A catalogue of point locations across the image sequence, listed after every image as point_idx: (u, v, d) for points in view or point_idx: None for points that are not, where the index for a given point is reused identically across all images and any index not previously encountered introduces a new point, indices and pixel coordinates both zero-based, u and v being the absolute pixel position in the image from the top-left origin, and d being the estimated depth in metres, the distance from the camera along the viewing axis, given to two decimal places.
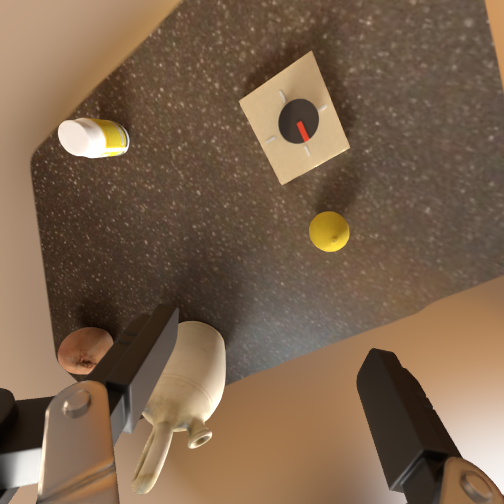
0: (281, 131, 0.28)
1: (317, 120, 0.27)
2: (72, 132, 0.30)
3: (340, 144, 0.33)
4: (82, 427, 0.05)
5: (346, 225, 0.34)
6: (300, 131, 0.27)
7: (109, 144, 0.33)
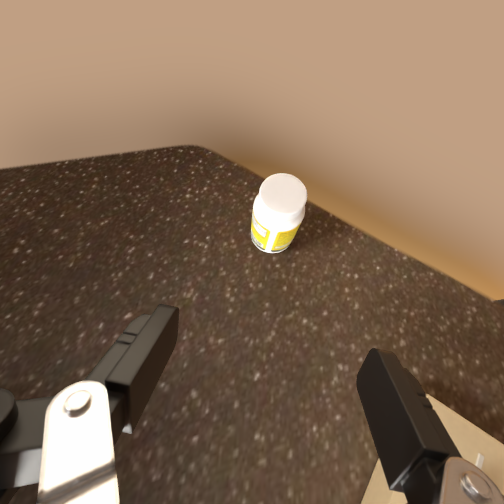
0: None
1: None
2: (291, 190, 0.20)
3: None
4: (82, 427, 0.05)
5: None
6: None
7: (282, 235, 0.23)
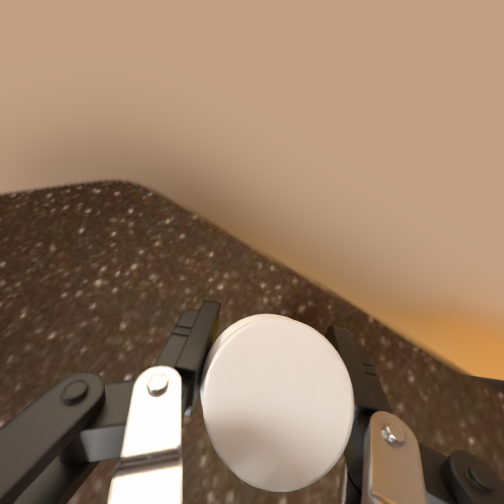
0: None
1: None
2: (304, 386, 0.06)
3: None
4: (158, 408, 0.06)
5: None
6: None
7: None
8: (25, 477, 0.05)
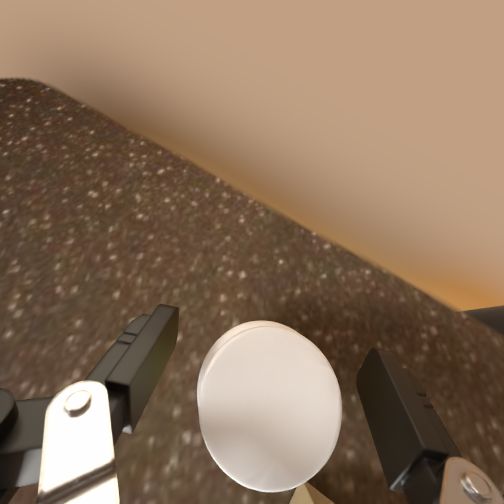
0: None
1: None
2: (295, 392, 0.07)
3: None
4: (82, 427, 0.05)
5: None
6: None
7: None
8: None
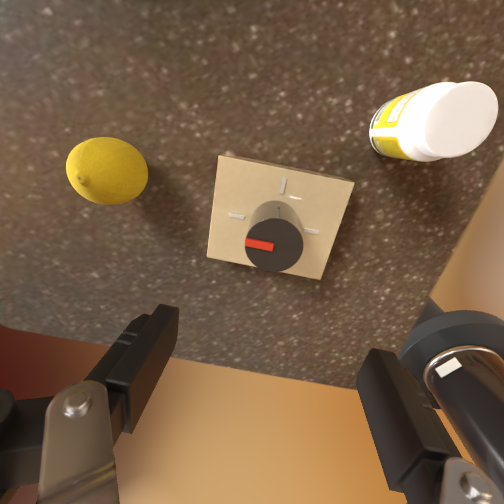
0: (281, 221, 0.18)
1: (257, 265, 0.19)
2: (465, 131, 0.15)
3: (216, 251, 0.25)
4: (82, 427, 0.05)
5: None
6: (262, 240, 0.18)
7: (394, 144, 0.18)
8: None
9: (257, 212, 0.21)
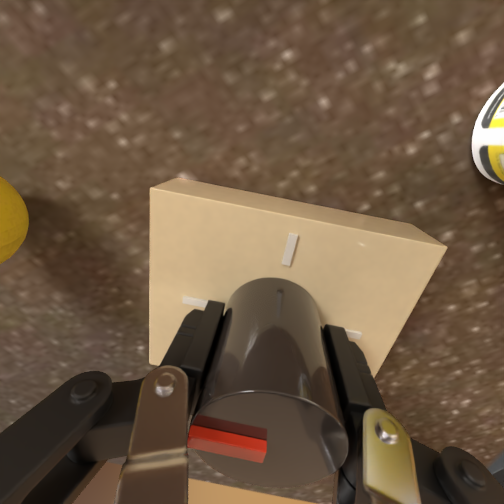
0: (287, 400, 0.06)
1: (226, 473, 0.08)
2: None
3: None
4: (165, 407, 0.06)
5: None
6: (234, 433, 0.07)
7: None
8: (34, 475, 0.05)
9: (232, 316, 0.09)
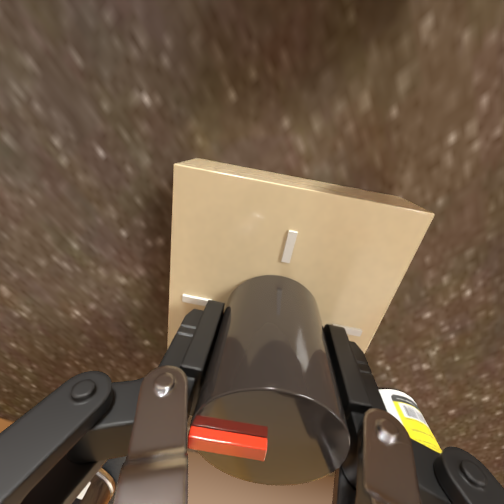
0: (283, 396, 0.06)
1: (230, 473, 0.08)
2: None
3: (194, 192, 0.10)
4: (165, 407, 0.06)
5: None
6: (235, 432, 0.07)
7: None
8: (33, 475, 0.05)
9: (230, 316, 0.09)
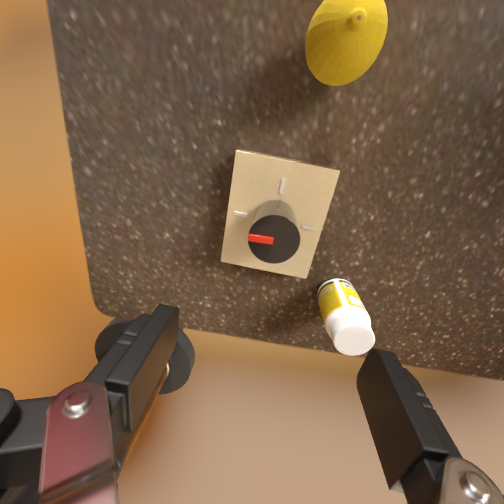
0: (278, 217, 0.20)
1: (260, 258, 0.22)
2: (347, 344, 0.25)
3: (243, 162, 0.24)
4: (82, 427, 0.05)
5: (313, 31, 0.17)
6: (263, 235, 0.21)
7: (336, 304, 0.27)
8: None
9: (258, 211, 0.23)
